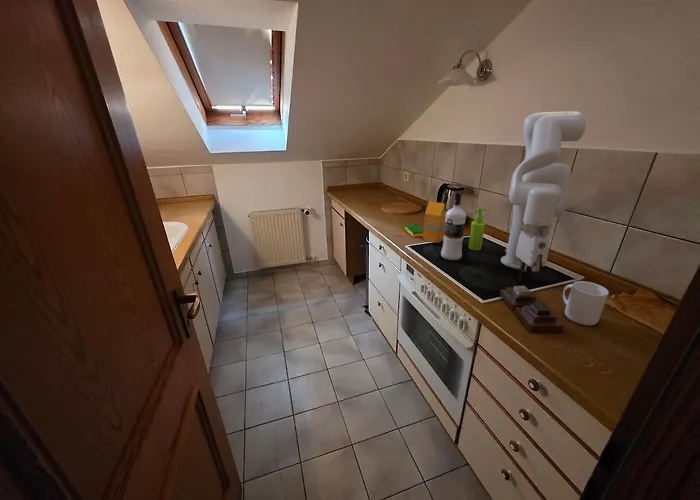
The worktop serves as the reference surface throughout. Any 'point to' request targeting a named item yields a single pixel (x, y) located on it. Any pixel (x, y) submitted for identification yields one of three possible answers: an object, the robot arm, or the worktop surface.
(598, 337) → the worktop surface
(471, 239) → the soap dispenser
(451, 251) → the vodka
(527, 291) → the key ivory
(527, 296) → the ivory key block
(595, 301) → the mug
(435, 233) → the orange juice
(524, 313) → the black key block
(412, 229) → the dish sponge
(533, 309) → the key black
